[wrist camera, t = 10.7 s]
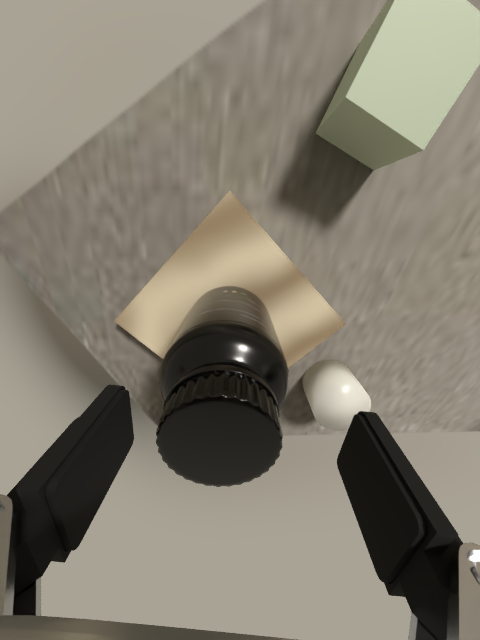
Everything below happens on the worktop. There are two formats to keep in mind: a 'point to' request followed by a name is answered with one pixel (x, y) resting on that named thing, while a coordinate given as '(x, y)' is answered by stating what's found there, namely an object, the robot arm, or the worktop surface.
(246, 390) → the supplement bottle
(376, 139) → the sage block
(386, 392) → the worktop surface
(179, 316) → the birch board
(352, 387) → the white rounded lump
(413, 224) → the worktop surface
